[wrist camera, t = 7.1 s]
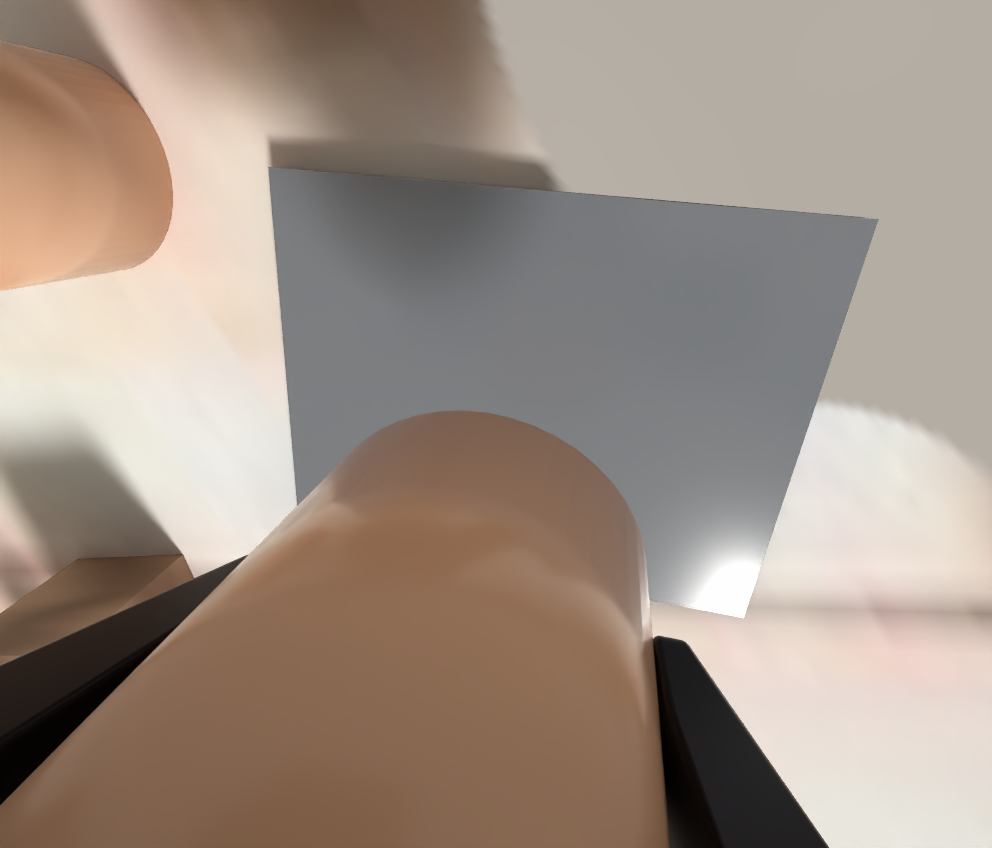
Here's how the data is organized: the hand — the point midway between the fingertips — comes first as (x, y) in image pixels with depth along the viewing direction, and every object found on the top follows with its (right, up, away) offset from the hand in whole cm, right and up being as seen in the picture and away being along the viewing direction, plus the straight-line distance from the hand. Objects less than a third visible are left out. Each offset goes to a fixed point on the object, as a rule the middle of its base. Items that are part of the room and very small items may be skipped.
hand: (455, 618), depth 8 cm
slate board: (+2, +3, +8) cm, 8 cm away
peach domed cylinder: (0, 0, +1) cm, 1 cm away
